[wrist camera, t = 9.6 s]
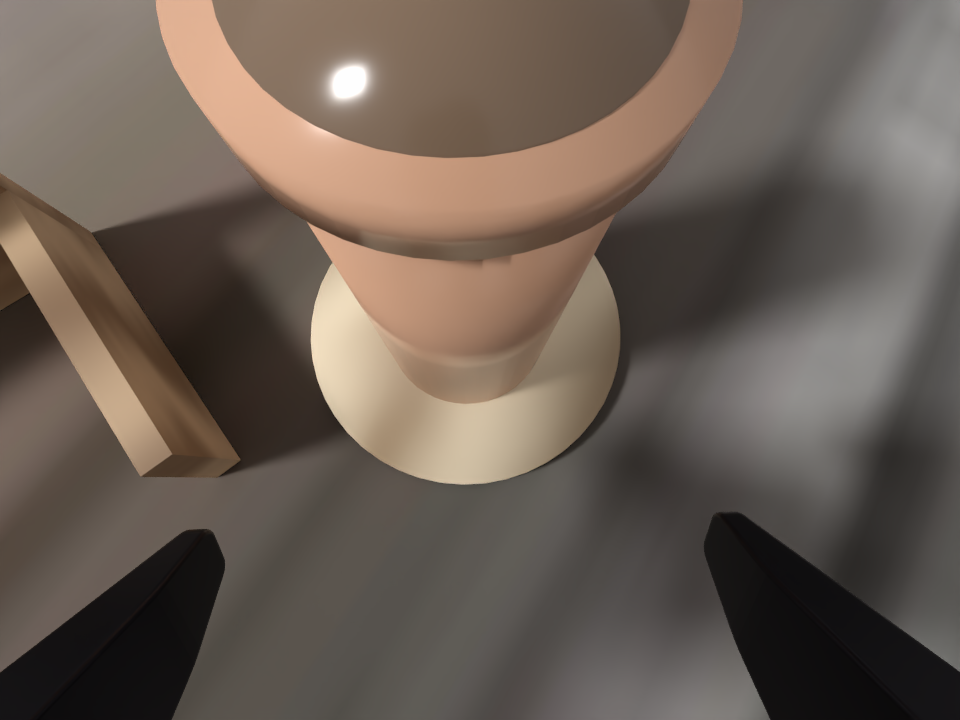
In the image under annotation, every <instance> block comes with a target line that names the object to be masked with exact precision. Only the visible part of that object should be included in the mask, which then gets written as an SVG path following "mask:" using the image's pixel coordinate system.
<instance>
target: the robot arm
mask: <svg viewBox="0 0 960 720" xmlns="http://www.w3.org/2000/svg"><path fill="white" fill-rule="evenodd" d="M704 552H705V557H706V560H707V563H708V565H709V568H710V571H711V574H712V577H713V580H714V583H715V586H716V589H717V591H718V594H719V597H720V600H721V603H722V606H723V609H724V612H725V615H726V618H727V620H728V623H729V626H730V629H731V632H732V634H733V637H734V640H735V642H736V645H737V647H738V649H739V652H740V654H741V656H742V659H743V661H744V663H745V665H746V667H747V670H748V672H749V674H750V676H751V678H752V680H753V683H754V685H755V687H756V689H757V691H758V694H759V696H760V698H761V700H762V702H763V705H764V707H765V709H766V711H767V713H768V715H769V718H770V720H960V672H959V671H958V670H957V669H955V668H954V667H953V666H951V665H950V664H948V663H947V662H946V661H944V660H943V659H941V658H940V657H939V656H937V655H936V654H935V653H933V652H932V651H930V650H929V649H928V648H926V647H925V646H924V645H922V644H921V643H919V642H918V641H917V640H915V639H914V638H913V637H911V636H910V635H908V634H907V633H906V632H904V631H903V630H902V629H900V628H899V627H897V626H896V625H895V624H893V623H892V622H891V621H889V620H888V619H886V618H885V617H884V616H882V615H881V614H880V613H878V612H877V611H875V610H874V609H873V608H871V607H870V606H869V605H867V604H866V603H864V602H863V601H862V600H860V599H859V598H857V597H856V596H855V595H853V594H852V593H851V592H849V591H848V590H846V589H845V588H844V587H842V586H841V585H840V584H838V583H837V582H835V581H834V580H833V579H831V578H830V577H829V576H827V575H826V574H824V573H823V572H822V571H820V570H819V569H818V568H816V567H815V566H813V565H812V564H811V563H809V562H808V561H807V560H805V559H804V558H802V557H801V556H800V555H798V554H797V553H796V552H794V551H793V550H791V549H790V548H789V547H787V546H786V545H784V544H783V543H782V542H780V541H779V540H778V539H776V538H775V537H773V536H772V535H771V534H769V533H768V532H767V531H765V530H764V529H762V528H761V527H760V526H758V525H757V524H756V523H754V522H753V521H751V520H750V519H749V518H747V517H746V516H745V515H743V514H741V513H739V512H718V513H716V514H715V515H713V517H712V520H711V523H710V526H709V529H708V532H707V535H706V538H705V542H704ZM224 570H225V560H224V557H223V554H222V552H221V549H220V547H219V545H218V542H217V540H216V538H215V535H214V533H213V532H212V531H211V530H209V529H194V530H186V531H184V532H182V533H181V534H179V535H178V536H177V537H175V538H174V539H173V540H171V541H170V542H169V543H167V544H166V545H165V546H164V547H162V548H161V549H160V550H158V551H157V552H156V553H155V554H153V555H152V556H151V557H149V558H148V559H147V560H145V561H144V562H143V563H142V564H140V565H139V566H138V567H136V568H135V569H134V570H132V571H131V572H130V573H129V574H127V575H126V576H125V577H123V578H122V579H121V580H120V581H118V582H117V583H116V584H114V585H113V586H112V587H110V588H109V589H108V590H107V591H105V592H104V593H103V594H101V595H100V596H99V597H97V598H96V599H95V600H94V601H92V602H91V603H90V604H88V605H87V606H86V607H85V608H83V609H82V610H81V611H79V612H78V613H77V614H75V615H74V616H73V617H72V618H70V619H69V620H68V621H66V622H65V623H64V624H62V625H61V626H60V627H59V628H57V629H56V630H55V631H53V632H52V633H51V634H50V635H48V636H47V637H46V638H44V639H43V640H42V641H40V642H39V643H38V644H37V645H35V646H34V647H33V648H31V649H30V650H29V651H27V652H26V653H25V654H24V655H22V656H21V657H20V658H18V659H17V660H16V661H15V662H13V663H12V664H11V665H9V666H8V667H7V668H5V669H4V670H3V671H2V672H0V720H172V717H173V715H174V713H175V710H176V708H177V706H178V703H179V701H180V699H181V696H182V694H183V692H184V689H185V687H186V684H187V682H188V680H189V677H190V675H191V672H192V670H193V667H194V665H195V662H196V659H197V656H198V653H199V650H200V647H201V644H202V641H203V638H204V635H205V631H206V628H207V625H208V622H209V619H210V616H211V613H212V609H213V606H214V603H215V600H216V597H217V594H218V590H219V587H220V584H221V581H222V578H223V574H224Z"/></svg>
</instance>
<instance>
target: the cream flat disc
mask: <svg viewBox="0 0 960 720" xmlns="http://www.w3.org/2000/svg"><path fill="white" fill-rule="evenodd" d="M311 348H312V359H313V364H314V368H315V372H316V377H317V380H318V383H319V385H320V388H321V390H322V393H323V396H324V398H325V400H326V402H327V404H328V405H329V407H330V409H331V411H332V412H333V414H334V416H335V417H336V419H337V420H338V421H339V422H340V424H341V425H342V426H343V428H344V429H345V430H346V431H347V433H348V434H349V435H350V436H351V437H352V438H353V439H354V440H355V441H357V442H358V443H359V444H360V445H361V446H362V447H363V448H364V449H365V450H367V451H368V452H370V453H371V454H372V455H374V456H375V457H376V458H378V459H379V460H381V461H383V462H384V463H386V464H388V465H390V466H392V467H394V468H396V469H397V470H399V471H402V472H405V473H408V474H410V475H413V476H416V477H418V478H422V479H427V480H431V481H436V482H440V483H451V484H481V483H489V482H494V481H500V480H505V479H509V478H512V477H514V476H517V475H520V474H523V473H526V472H529V471H531V470H533V469H535V468H537V467H539V466H541V465H543V464H545V463H547V462H548V461H550V460H551V459H553V458H554V457H556V456H557V455H558V454H560V453H561V452H563V451H564V450H565V449H567V448H568V447H569V446H570V445H571V444H572V443H573V442H574V441H575V440H576V439H578V438H579V437H580V436H581V434H582V433H583V432H584V431H585V430H586V428H587V427H588V426H589V425H590V424H591V423H592V421H593V420H594V418H595V417H596V415H597V414H598V412H599V410H600V409H601V407H602V406H603V404H604V402H605V400H606V397H607V395H608V393H609V391H610V388H611V386H612V383H613V380H614V376H615V373H616V369H617V366H618V359H619V352H620V322H619V315H618V308H617V304H616V301H615V297H614V294H613V290H612V288H611V285H610V283H609V281H608V278H607V276H606V274H605V272H604V270H603V268H602V267H601V265H600V263H599V262H598V260H597V258H596V257H595V255H593V257H592V259H591V261H590V263H589V264H588V266H587V268H586V270H585V272H584V274H583V276H582V278H581V279H580V281H579V283H578V285H577V287H576V289H575V291H574V293H573V294H572V296H571V298H570V300H569V302H568V304H567V306H566V307H565V309H564V311H563V313H562V315H561V317H560V319H559V321H558V322H557V324H556V326H555V328H554V330H553V332H552V334H551V336H550V337H549V339H548V341H547V343H546V345H545V347H544V349H543V350H542V352H541V354H540V356H539V358H538V360H537V362H536V364H535V365H534V367H533V368H532V370H531V371H530V373H529V374H528V375H527V376H526V378H525V379H524V380H523V381H522V382H521V383H520V384H519V385H517V386H516V387H515V388H514V389H512V390H511V391H509V392H508V393H506V394H504V395H502V396H500V397H498V398H495V399H492V400H489V401H486V402H480V403H472V404H461V403H452V402H447V401H443V400H441V399H438V398H435V397H433V396H431V395H429V394H427V393H425V392H424V391H422V390H421V389H419V388H418V387H416V386H415V385H414V384H413V383H412V382H411V381H410V380H409V379H408V378H407V377H406V375H405V374H404V373H403V372H402V370H401V369H400V367H399V365H398V364H397V362H396V361H395V359H394V358H393V356H392V354H391V353H390V351H389V350H388V348H387V347H386V345H385V343H384V342H383V340H382V339H381V337H380V336H379V334H378V332H377V331H376V329H375V328H374V326H373V325H372V323H371V322H370V320H369V318H368V317H367V315H366V314H365V312H364V311H363V309H362V307H361V306H360V304H359V303H358V301H357V300H356V298H355V296H354V295H353V293H352V292H351V290H350V289H349V287H348V285H347V284H346V282H345V281H344V279H343V278H342V276H341V274H340V273H339V271H338V270H337V268H336V267H335V265H334V263H332V264H331V266H330V268H329V270H328V272H327V274H326V276H325V278H324V280H323V282H322V284H321V287H320V290H319V293H318V296H317V299H316V302H315V307H314V312H313V317H312V326H311Z"/></svg>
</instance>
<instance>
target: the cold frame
mask: <svg viewBox="0 0 960 720" xmlns="http://www.w3.org/2000/svg"><path fill="white" fill-rule="evenodd" d="M28 293H31V295H32V297H33V298H34V300H35V302H36V303H37V305H38V307H39V308H40V310H41V312H42V313H43V315H44V317H45V318H46V320H47V322H48V323H49V325H50V327H51V328H52V330H53V332H54V333H55V335H56V337H57V338H58V340H59V342H60V343H61V345H62V347H63V348H64V350H65V352H66V353H67V355H68V357H69V358H70V360H71V362H72V363H73V365H74V367H75V368H76V370H77V372H78V373H79V375H80V377H81V378H82V380H83V382H84V383H85V385H86V387H87V388H88V390H89V392H90V393H91V395H92V397H93V398H94V400H95V402H96V403H97V405H98V407H99V408H100V410H101V412H102V413H103V415H104V417H105V418H106V420H107V422H108V423H109V425H110V427H111V428H112V430H113V432H114V433H115V435H116V437H117V438H118V440H119V442H120V443H121V445H122V447H123V448H124V450H125V452H126V453H127V455H128V457H129V458H130V460H131V461H132V463H133V465H134V466H135V468H136V470H137V471H138V473H139V475H140V476H141V477H214V478H217V477H219V476H220V475H221V474H223V473H224V472H225V471H227V470H228V469H229V468H231V467H232V466H234V465H235V464H236V463H238V462H239V461H240V458H239V457H238V455H237V453H236V452H235V450H234V449H233V447H232V446H231V444H230V443H229V441H228V440H227V438H226V437H225V435H224V434H223V432H222V431H221V429H220V428H219V426H218V425H217V423H216V422H215V420H214V419H213V417H212V415H211V414H210V412H209V411H208V409H207V408H206V406H205V405H204V403H203V402H202V400H201V399H200V397H199V396H198V394H197V393H196V391H195V390H194V388H193V387H192V385H191V384H190V382H189V381H188V379H187V378H186V376H185V374H184V373H183V371H182V370H181V368H180V367H179V365H178V364H177V362H176V361H175V359H174V358H173V356H172V355H171V353H170V352H169V350H168V349H167V347H166V346H165V344H164V343H163V341H162V340H161V338H160V336H159V335H158V333H157V332H156V330H155V329H154V327H153V326H152V324H151V323H150V321H149V320H148V318H147V317H146V315H145V314H144V312H143V311H142V309H141V308H140V306H139V305H138V303H137V302H136V300H135V298H134V297H133V295H132V294H131V292H130V291H129V289H128V288H127V286H126V285H125V283H124V282H123V280H122V279H121V277H120V276H119V274H118V273H117V271H116V270H115V268H114V267H113V265H112V264H111V262H110V261H109V259H108V257H107V256H106V254H105V253H104V251H103V250H102V248H101V247H100V245H99V244H98V242H97V241H96V239H95V238H94V236H93V235H92V233H91V232H90V231H88V230H87V229H85V228H84V227H82V226H81V225H79V224H78V223H76V222H75V221H73V220H72V219H70V218H68V217H67V216H65V215H64V214H62V213H61V212H59V211H58V210H56V209H55V208H53V207H52V206H50V205H48V204H47V203H45V202H44V201H42V200H41V199H39V198H38V197H36V196H35V195H33V194H32V193H30V192H28V191H27V190H25V189H24V188H22V187H21V186H19V185H18V184H16V183H15V182H13V181H12V180H10V179H8V178H7V177H5V176H4V175H2V174H1V173H0V311H1V310H2V309H4V308H5V307H7V306H9V305H10V304H12V303H14V302H15V301H17V300H19V299H20V298H22V297H24V296H25V295H27V294H28Z"/></svg>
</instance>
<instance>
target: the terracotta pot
mask: <svg viewBox="0 0 960 720" xmlns="http://www.w3.org/2000/svg"><path fill="white" fill-rule="evenodd" d="M742 5H743V0H156V9H157V14H158V19H159V24H160V29H161V34H162V38H163V41H164V43H165V46H166V48H167V51H168V53H169V56H170V58H171V61H172V64H173V66H174V68H175V70H176V71H177V73H178V75H179V76H180V78H181V80H182V81H183V83H184V85H185V86H186V88H187V89H188V91H189V93H190V94H191V96H192V97H193V99H194V100H195V102H196V103H197V104H198V106H199V107H200V108H201V110H202V111H203V112H204V114H205V115H206V117H207V118H208V119H209V121H210V122H211V123H212V125H213V126H214V128H215V129H216V130H217V132H218V133H219V134H220V136H221V137H222V139H223V140H224V141H225V143H226V144H227V145H228V147H229V148H230V150H231V151H232V152H233V154H234V155H235V156H236V158H237V159H238V161H239V162H240V163H241V164H242V165H243V167H244V168H245V169H246V170H247V171H248V172H249V174H250V175H251V176H252V177H253V178H254V180H255V181H256V182H257V183H258V184H259V185H260V186H261V187H262V188H263V189H264V190H265V191H266V192H268V193H269V194H270V195H271V196H272V197H273V198H275V199H276V200H277V201H278V202H279V203H280V204H281V205H283V206H284V207H285V208H287V209H288V210H290V211H291V212H293V213H294V214H296V215H298V216H299V217H301V218H302V219H304V220H305V221H307V223H308V224H309V226H310V227H311V229H312V231H313V232H314V234H315V235H316V237H317V238H318V240H319V241H320V243H321V245H322V246H323V248H324V249H325V251H326V252H327V254H328V256H329V257H330V259H331V260H332V262H333V263H334V265H335V267H336V268H337V270H338V271H339V273H340V274H341V276H342V278H343V279H344V281H345V282H346V284H347V285H348V287H349V289H350V290H351V292H352V293H353V295H354V296H355V298H356V300H357V301H358V303H359V304H360V306H361V307H362V309H363V311H364V312H365V314H366V315H367V317H368V318H369V320H370V322H371V323H372V325H373V326H374V328H375V329H376V331H377V332H378V334H379V336H380V337H381V339H382V340H383V342H384V343H385V345H386V347H387V348H388V350H389V351H390V353H391V354H392V356H393V358H394V359H395V361H396V362H397V364H398V365H399V367H400V369H401V370H402V372H403V373H404V374H405V375H406V377H407V378H408V379H409V380H410V381H411V382H412V383H413V384H414V385H415V386H416V387H418V388H419V389H421V390H422V391H424V392H425V393H427V394H429V395H431V396H433V397H435V398H438V399H441V400H443V401H447V402H452V403H461V404H472V403H480V402H486V401H489V400H492V399H495V398H498V397H500V396H502V395H504V394H506V393H508V392H509V391H511V390H512V389H514V388H515V387H516V386H517V385H519V384H520V383H521V382H522V381H523V380H524V379H525V378H526V376H527V375H528V374H529V373H530V371H531V370H532V368H533V367H534V365H535V364H536V362H537V360H538V358H539V356H540V354H541V352H542V350H543V349H544V347H545V345H546V343H547V341H548V339H549V337H550V336H551V334H552V332H553V330H554V328H555V326H556V324H557V322H558V321H559V319H560V317H561V315H562V313H563V311H564V309H565V307H566V306H567V304H568V302H569V300H570V298H571V296H572V294H573V293H574V291H575V289H576V287H577V285H578V283H579V281H580V279H581V278H582V276H583V274H584V272H585V270H586V268H587V266H588V264H589V263H590V261H591V259H592V257H593V255H594V253H595V251H596V250H597V248H598V246H599V244H600V242H601V240H602V238H603V236H604V235H605V233H606V231H607V229H608V227H609V225H610V223H611V221H612V220H613V218H614V216H615V214H616V213H617V212H618V211H619V210H621V209H622V208H623V207H624V206H626V205H627V204H628V203H629V202H630V201H632V200H633V199H634V198H635V197H637V196H638V195H639V194H640V193H642V192H643V191H644V190H645V189H646V187H647V186H648V185H649V184H650V183H651V182H652V181H653V180H654V179H655V178H656V177H657V175H658V174H659V173H660V172H661V171H662V170H663V169H664V167H665V166H666V164H667V163H668V161H669V160H670V158H671V157H672V155H673V154H674V152H675V151H676V149H677V148H678V146H679V145H680V143H681V142H682V140H683V138H684V137H685V135H686V134H687V132H688V130H689V129H690V127H691V125H692V124H693V122H694V121H695V119H696V117H697V116H698V114H699V112H700V111H701V109H702V108H703V106H704V104H705V103H706V101H707V99H708V98H709V96H710V95H711V93H712V91H713V90H714V88H715V86H716V85H717V83H718V82H719V80H720V78H721V76H722V74H723V72H724V70H725V68H726V65H727V63H728V61H729V59H730V56H731V54H732V52H733V50H734V47H735V43H736V39H737V35H738V31H739V27H740V23H741V18H742Z"/></svg>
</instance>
